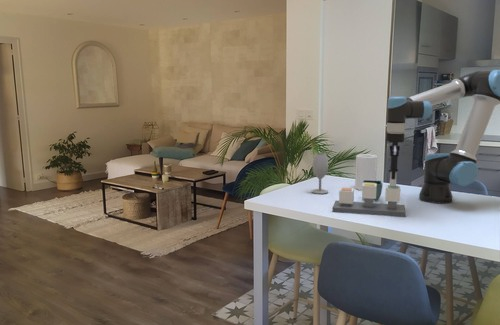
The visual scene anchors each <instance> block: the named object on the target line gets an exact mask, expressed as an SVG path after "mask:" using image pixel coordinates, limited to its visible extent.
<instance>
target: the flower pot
mask: <svg viewBox="0 0 500 325" xmlns="http://www.w3.org/2000/svg"><path fill="white" fill-rule="evenodd" d="M365 182H367V183H377V188H376V199H373V202H378V201H379V200H380V198H381V195H382V192H383V191H382V190H383V181H381V180H376V181H371V180H363V183H365Z"/></svg>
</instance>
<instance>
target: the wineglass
mask: <svg viewBox="0 0 500 325" xmlns="http://www.w3.org/2000/svg"><path fill="white" fill-rule="evenodd" d="M312 161H313V162H312V173H313V175H314V176H315V177H316V178H317V179H318V188H316V189H312V191H311V193H313V194H316V195H325V194H328V193H329V190H328V189H324V188H322V179H323V178H324V177H326V176H327V174H328V170H329V162H328V156H327V153H326V152H315V153H314V156H313V160H312Z"/></svg>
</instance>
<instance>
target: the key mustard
mask: <svg viewBox="0 0 500 325" xmlns="http://www.w3.org/2000/svg"><path fill="white" fill-rule="evenodd" d="M376 188H377V183H367V182H365V183H363V185H362V190H361V199H365V198H369V199H376Z"/></svg>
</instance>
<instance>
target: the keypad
mask: <svg viewBox="0 0 500 325" xmlns="http://www.w3.org/2000/svg"><path fill="white" fill-rule="evenodd" d="M397 203H398V202H391V201H387V203H382V202H374V201H373V199H369V198H364V201H353V204H346V203H339V200H334V204H333V205H332V211H331V212H332V213H343V214H346V213H347V214H355V215H357V214H360V215H370V216H372V215H373V216H387V217H397V218H398V217H400V218H401V217H402V218H406V217H407V211H406V206H405V204H399V203H398V204H397Z"/></svg>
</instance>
